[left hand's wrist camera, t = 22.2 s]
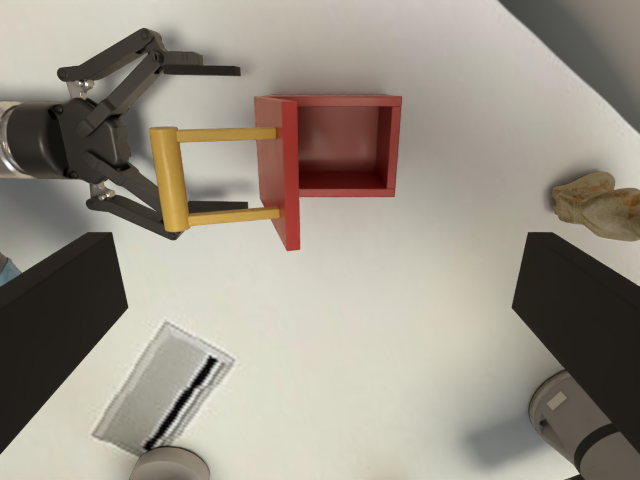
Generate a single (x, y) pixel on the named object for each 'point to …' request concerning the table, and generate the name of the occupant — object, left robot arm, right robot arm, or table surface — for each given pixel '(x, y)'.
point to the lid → (273, 167)
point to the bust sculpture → (170, 466)
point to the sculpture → (600, 206)
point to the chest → (347, 144)
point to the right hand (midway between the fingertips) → (242, 144)
